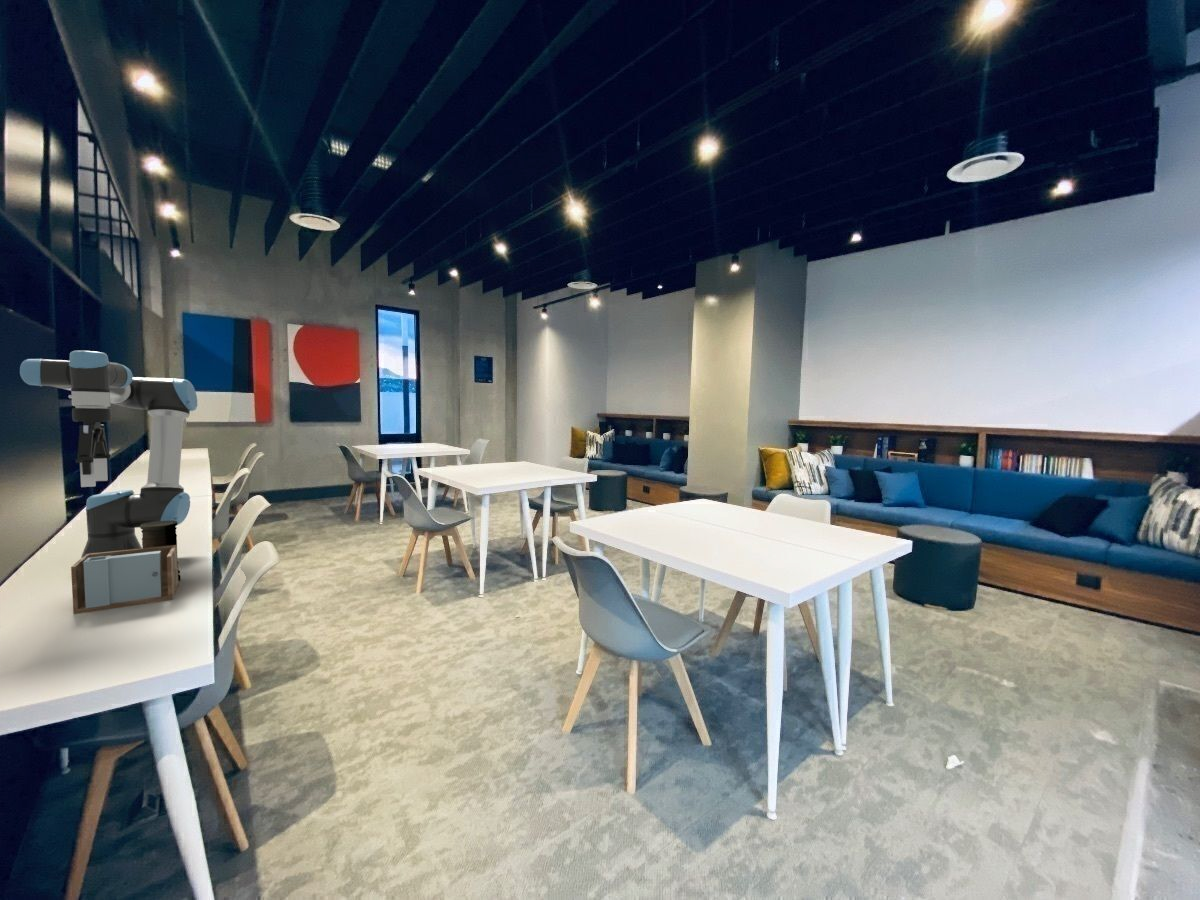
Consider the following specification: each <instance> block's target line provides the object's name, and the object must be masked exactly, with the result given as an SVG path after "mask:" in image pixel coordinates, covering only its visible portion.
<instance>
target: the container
mask: <svg viewBox="0 0 1200 900" xmlns="http://www.w3.org/2000/svg"><path fill="white" fill-rule="evenodd" d="M177 524H178V523H177V521H156V522H149V523H144V524H141V526H140V527H139V528H140V529H141V534H142V535H141V536H142V538H141V544H142V545H141V547H142V548H151V547H161V546H171V545H177V546H178V541H177V540H178V535H177V528H178V527H176V526H178V525H177ZM180 574H181V571H180V569H178V582H180V581H181V577H182V576H181V575H180Z"/></svg>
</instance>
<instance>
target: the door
mask: <svg viewBox="0 0 1200 900" xmlns="http://www.w3.org/2000/svg"><path fill="white" fill-rule="evenodd" d="M83 564H84V584H85V604H86V608H92V607H98V606H105V605H110V604H113V603H120V602H127V601H134V600H141V599H148V598H155V597H161V596H162V594H163V591H162V565H161V551H154V552H145V553H135V554H126V555H116V556H111V555H110V556H100V557H91V558H87V559H86V560H85V561H84V562H83Z"/></svg>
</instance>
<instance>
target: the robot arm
mask: <svg viewBox="0 0 1200 900" xmlns="http://www.w3.org/2000/svg"><path fill="white" fill-rule="evenodd" d="M19 375H20V378H21V379H22V381H23V382H24V383H25V384H27V385H28V386H37V387H43V386H44V387H53V388H57V389H63V390H67V391H70V392H71V394H68V396H67V397H68V398H69V399H71V405H72V406H73V408H72V409H71V417H72V418H71V419H72V421H73V422H78V423H79V422H80V423H83V425H81V424H80V425H79V426H78V429H79V430H78V431H79V436H78V446H77V447H78V448H77V457H76V458H75V459H74V460H75V461H74V462H75V463H79V472H80V473H79V474H80V487H81V488H87V487H89V488H91V487H93V488H94V487H96V486H97V485H96V484H97V482H107V481H108V479H109V478H108V459H110V458H111V454H110V453H109V449H108V445H107V438H106V431H105V426H106V425H105V424H101V423H109V422H111V421H112V415H111V414H112V413H111V412H112V411H111V409H110V408H109V407H111V405H116V406H120V407H125V408H128V409H135V410H147V414H148V415H149V416H150V417H151V418H152V424H151V433H150V434H151V435H150V445H149V446H150V448H149V455H148V456H149V458H148V469H147V480H146V481H147V482H146V484H145V485H143V486H141V487H140V491H139V492H140V493H137V494H136V493H135V492H134V490H132V489H125V490H115V491H109V492H104V493H103V492H102V493H99V494H93V495H91V496H89V497H88V498H87V499H86V505H85V511H86V513H85V514H86V527H87V540H86V543H85V546H84V549H83V551H82V553H81V556H80V559H81V558H82V557H83V556H85V555H86V554H91V553H101V552H111V551H121V550H131V549H141V548H142V545H141V544H140V541H139V539H138V536H137V535H136V531H135V529H137V528H140V526H141V524H144V523H149V522H156V521H177V523H178V524H177V526H178V525H180V524H182V523H183V522H184V521H185V520H186V518H187V517H188V515H189V512H190V507H191V498H190V495H189V494H188V493H187V492H185V490H184V489H185V488H184V487H183V486H182V485H181V484H180V474H181V472H180V471H181V462H182V461H181V460H182V449H183V448H182V447H183V446H182V445H183V435H184V433H183V432H184V422H185V420H186V419H188V418H190V415H191V414H190V413H191V412H193V411H195V410H197V407H198V397H197V392H196V390H195V387H194V385H193V384H192V382H191V381H189V380H188V379H184V378H182V379H181V378H175V377H171V378H169V377H168V378H167V377H166V378H165V377H143V376H141V377H140V376H136V377H135V376H134V375H133V373H132V370H131V369H130V368H129V367H127V366H126V365H124V364H121V363H118V362H111V361H109V356H108V355H107V353H105V352H102V351H101V352H100V351H94V350H92V351H91V350H73V351H71V352H70V353H69V359H68V360H65V359H64V360H63V359H46V358H45V359H44V358H27V359H24V360H23V361H22V362H21V364H20V367H19ZM74 407H75V408H74Z"/></svg>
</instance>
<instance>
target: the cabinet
mask: <svg viewBox="0 0 1200 900" xmlns="http://www.w3.org/2000/svg"><path fill="white" fill-rule="evenodd" d="M154 551H161V565H162V591H163V594H162V596H161V597H155V598H148V599H141V600H134V601H127V602H120V603H113V604H110V605H105V606H98V607H92V608H86V604H85V584H84V564H83V562H84V561H85V560H86V559H87V558H91V557H100V556H110V555H111V556H116V555H126V554H135V553H145V552H154ZM178 559H179V558H178V544H177V545H171V546H161V547H151V548H141V549H131V550H121V551H111V552H101V553H91V554H86V555H85V556H83V557H82V558H81V557H80V559H78V561H76V562H75V563H74V564H73V565H72V566H71V567H70V571H71V573H70V574H71V590H72V591H71V592H72V609H73V610H72V612H73V614H74V615H75V614H81V613H89V612H94V611H100V610H110V609H114V608H124V607H129V606H134V605H142V604H149V603H155V602H157V603H158V602H161V601H170V600H173V599H174V597H175V593H176V591H177V589H178V587H179V581H178V570H179V561H178Z"/></svg>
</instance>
